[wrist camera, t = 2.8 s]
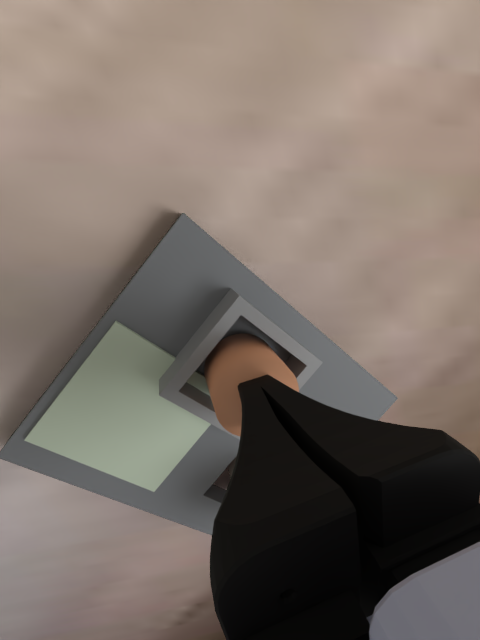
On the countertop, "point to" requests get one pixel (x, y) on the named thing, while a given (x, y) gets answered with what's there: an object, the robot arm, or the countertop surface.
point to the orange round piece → (240, 374)
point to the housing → (174, 383)
